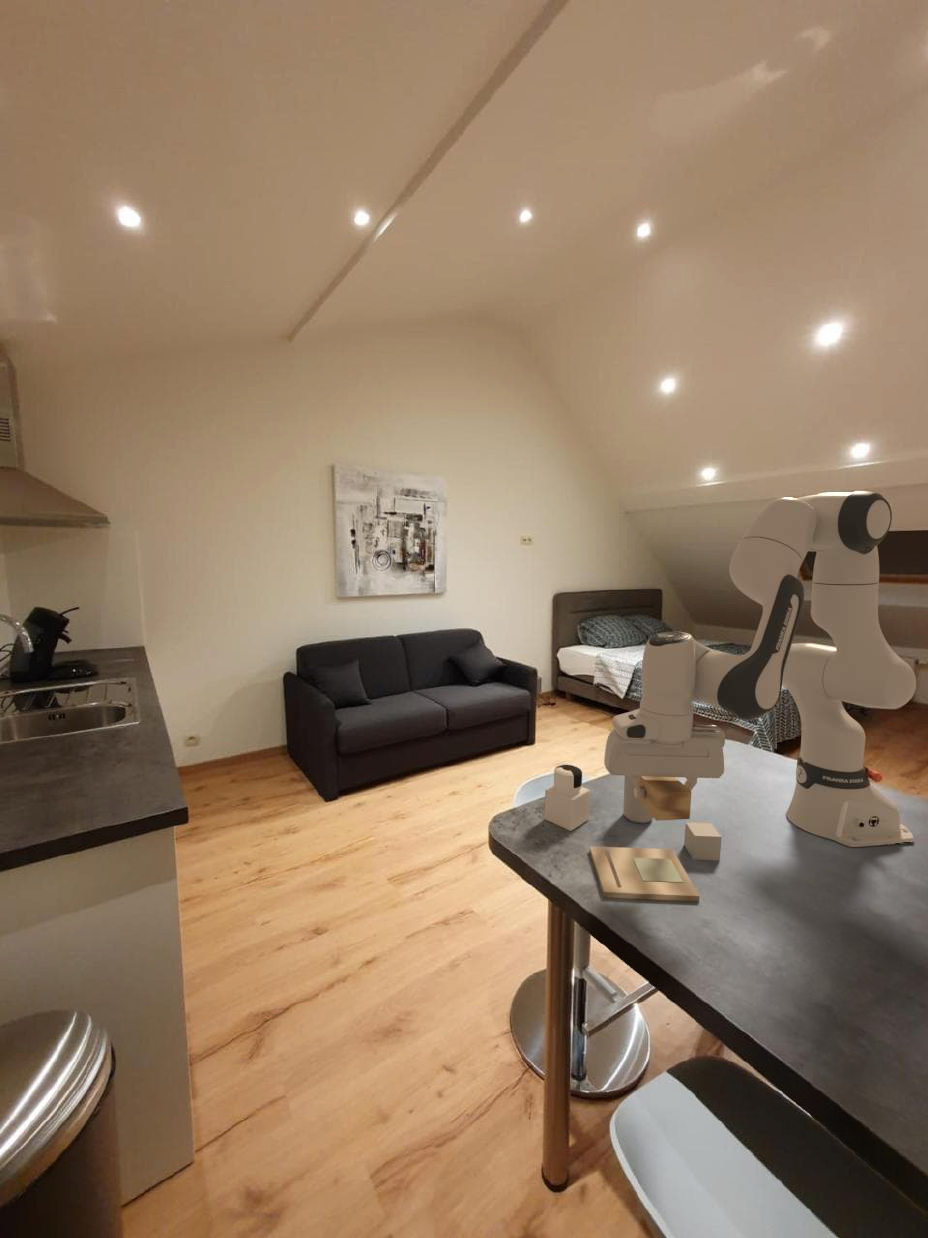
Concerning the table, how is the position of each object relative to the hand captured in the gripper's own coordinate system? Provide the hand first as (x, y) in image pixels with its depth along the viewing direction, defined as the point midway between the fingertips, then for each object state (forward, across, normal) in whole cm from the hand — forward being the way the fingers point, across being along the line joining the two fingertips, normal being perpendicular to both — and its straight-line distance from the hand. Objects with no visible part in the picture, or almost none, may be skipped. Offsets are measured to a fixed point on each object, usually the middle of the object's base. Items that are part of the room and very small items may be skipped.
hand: (661, 798), depth 95 cm
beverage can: (+15, -2, -21) cm, 26 cm away
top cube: (+15, -11, -8) cm, 20 cm away
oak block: (+2, 0, 0) cm, 2 cm away
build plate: (+15, +3, 0) cm, 15 cm away
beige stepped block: (+15, +14, -19) cm, 28 cm away
